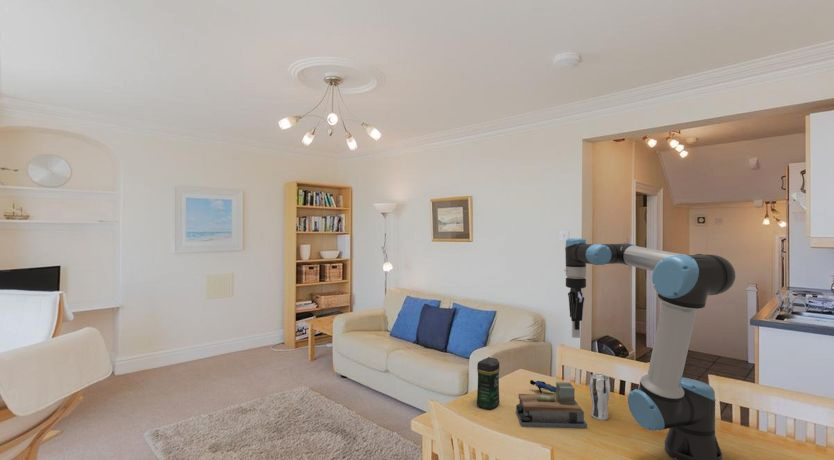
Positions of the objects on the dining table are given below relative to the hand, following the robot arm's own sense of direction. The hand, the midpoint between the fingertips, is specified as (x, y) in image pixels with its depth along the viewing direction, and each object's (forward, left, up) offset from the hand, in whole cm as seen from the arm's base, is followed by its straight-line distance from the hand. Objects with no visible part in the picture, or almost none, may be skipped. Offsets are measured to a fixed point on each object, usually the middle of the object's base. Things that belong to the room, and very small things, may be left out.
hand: (575, 337), depth 166 cm
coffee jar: (+2, +34, -29) cm, 44 cm away
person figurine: (+15, +6, -29) cm, 33 cm away
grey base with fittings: (-10, +12, -28) cm, 33 cm away
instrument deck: (-10, +13, -23) cm, 28 cm away
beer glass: (-6, -7, -29) cm, 30 cm away
